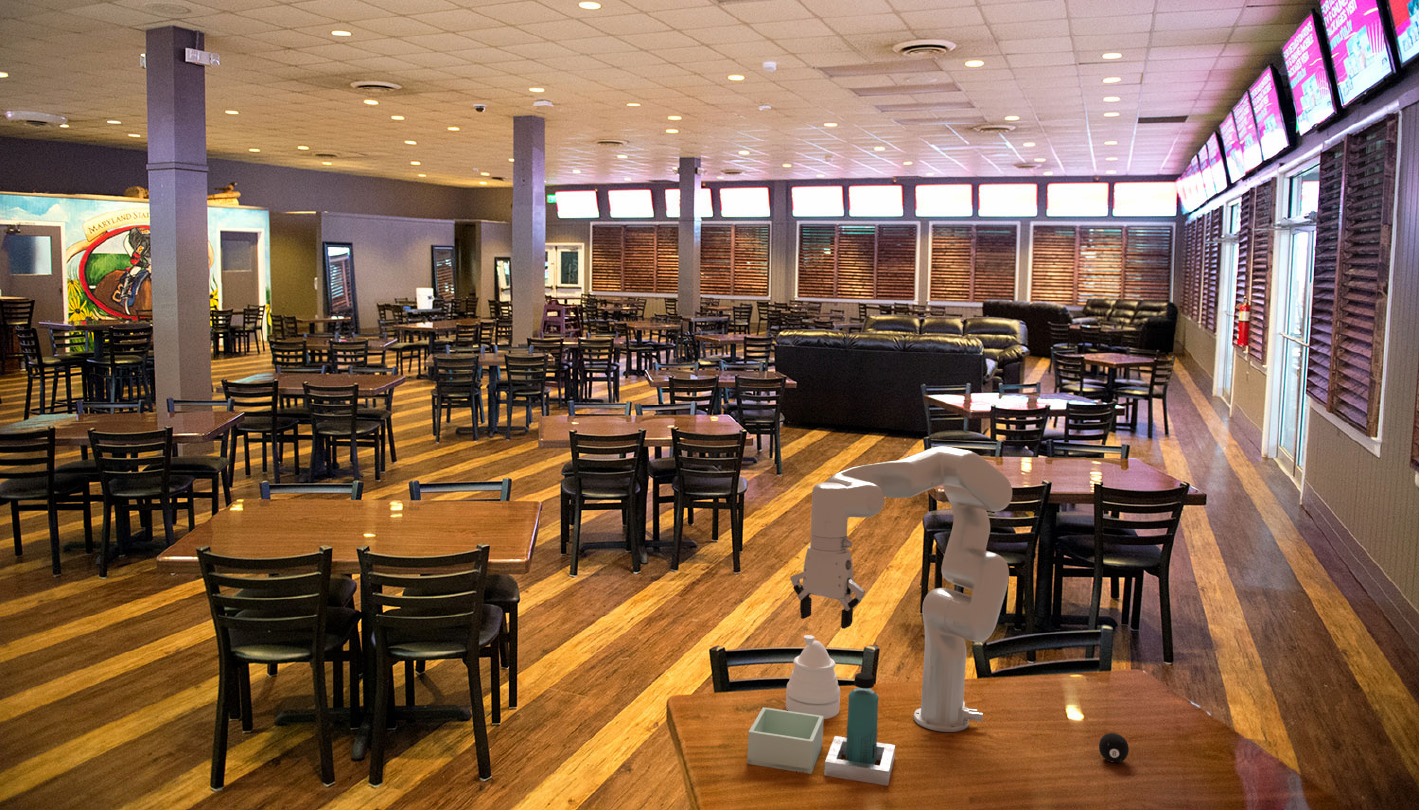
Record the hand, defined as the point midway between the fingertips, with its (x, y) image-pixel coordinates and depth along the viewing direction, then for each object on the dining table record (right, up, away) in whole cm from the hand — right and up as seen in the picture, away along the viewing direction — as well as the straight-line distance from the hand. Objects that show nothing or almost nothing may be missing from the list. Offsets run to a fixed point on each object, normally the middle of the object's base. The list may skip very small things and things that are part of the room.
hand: (825, 622), depth 215 cm
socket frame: (+7, -31, 0) cm, 31 cm away
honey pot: (0, -27, +30) cm, 41 cm away
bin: (-8, -30, +5) cm, 31 cm away
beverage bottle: (+7, -31, 0) cm, 32 cm away
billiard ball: (+63, -32, +8) cm, 71 cm away
